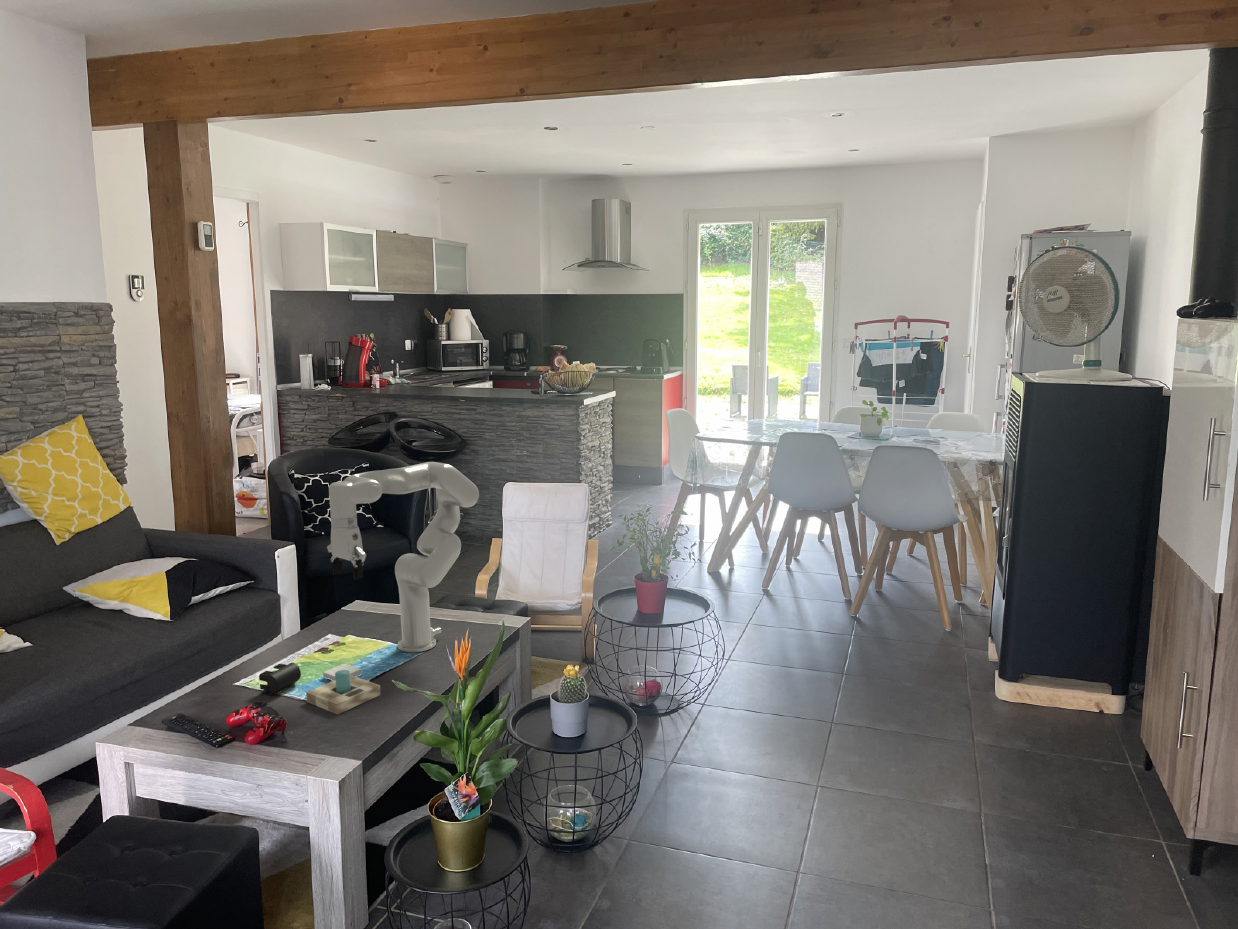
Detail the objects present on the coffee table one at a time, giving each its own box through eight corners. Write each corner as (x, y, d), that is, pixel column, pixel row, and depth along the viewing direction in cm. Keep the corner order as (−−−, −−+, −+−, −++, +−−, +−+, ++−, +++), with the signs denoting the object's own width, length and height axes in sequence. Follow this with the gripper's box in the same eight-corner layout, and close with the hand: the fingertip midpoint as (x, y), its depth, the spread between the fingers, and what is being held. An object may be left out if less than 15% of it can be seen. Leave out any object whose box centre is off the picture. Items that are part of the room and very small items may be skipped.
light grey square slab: (345, 669, 274) (344, 663, 274) (361, 675, 269) (361, 669, 269) (323, 678, 268) (323, 672, 267) (340, 684, 263) (339, 678, 263)
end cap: (278, 698, 254) (276, 676, 253) (259, 694, 257) (257, 673, 256) (302, 684, 264) (300, 663, 262) (283, 681, 266) (281, 660, 265)
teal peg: (345, 694, 256) (343, 668, 255) (354, 697, 254) (352, 671, 252) (334, 699, 253) (332, 673, 252) (342, 702, 251) (340, 676, 249)
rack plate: (349, 683, 264) (349, 674, 263) (380, 695, 256) (379, 685, 255) (306, 702, 251) (306, 692, 251) (337, 714, 243) (336, 704, 243)
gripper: (372, 523, 264) (376, 577, 267) (336, 516, 274) (340, 568, 277) (352, 528, 258) (356, 584, 261) (316, 521, 268) (320, 574, 271)
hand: (348, 576), depth 269 cm, fingers open, 9 cm apart
